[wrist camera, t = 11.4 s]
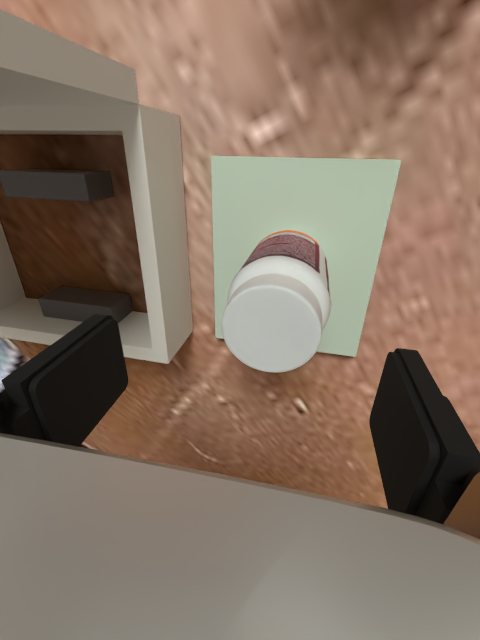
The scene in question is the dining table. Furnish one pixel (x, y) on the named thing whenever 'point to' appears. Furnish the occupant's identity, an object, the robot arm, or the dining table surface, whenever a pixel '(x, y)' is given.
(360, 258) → the mat
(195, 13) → the dining table surface
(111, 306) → the equipment case
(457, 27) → the dining table surface
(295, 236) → the pill bottle
